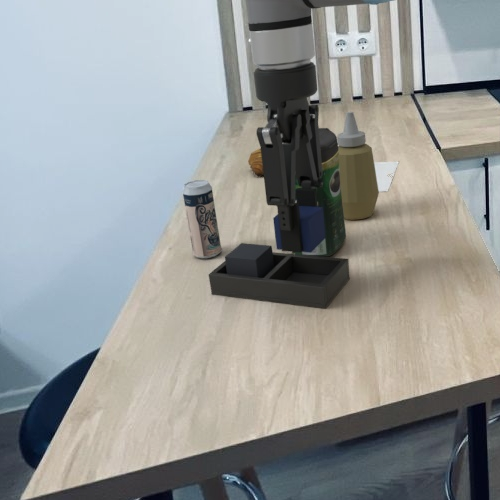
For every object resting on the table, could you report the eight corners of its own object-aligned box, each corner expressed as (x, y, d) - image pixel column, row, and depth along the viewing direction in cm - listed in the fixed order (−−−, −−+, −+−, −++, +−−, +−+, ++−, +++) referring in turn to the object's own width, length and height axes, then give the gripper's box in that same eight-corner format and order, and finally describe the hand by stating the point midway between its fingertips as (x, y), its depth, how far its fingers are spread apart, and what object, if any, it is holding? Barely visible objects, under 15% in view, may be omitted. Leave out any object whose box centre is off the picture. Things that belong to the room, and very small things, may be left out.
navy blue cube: (325, 238, 89) (323, 206, 87) (311, 252, 85) (308, 220, 83) (292, 235, 91) (288, 204, 89) (276, 249, 87) (272, 217, 85)
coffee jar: (305, 235, 109) (294, 124, 102) (351, 237, 106) (343, 123, 99) (283, 258, 101) (270, 140, 94) (333, 262, 98) (322, 139, 91)
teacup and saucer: (359, 168, 141) (358, 149, 139) (353, 179, 134) (352, 160, 132) (319, 169, 143) (318, 151, 142) (311, 180, 137) (309, 161, 135)
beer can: (212, 261, 104) (200, 189, 99) (187, 258, 106) (175, 188, 102) (227, 249, 108) (217, 179, 103) (203, 247, 110) (192, 178, 105)
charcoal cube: (275, 273, 95) (271, 245, 93) (259, 289, 91) (255, 259, 90) (245, 270, 98) (241, 242, 96) (228, 285, 94) (224, 256, 92)
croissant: (254, 162, 156) (252, 141, 155) (282, 160, 155) (280, 139, 153) (243, 179, 144) (240, 157, 142) (274, 177, 143) (271, 154, 141)
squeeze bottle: (342, 206, 120) (334, 107, 113) (385, 207, 116) (380, 106, 110) (327, 222, 114) (317, 118, 107) (372, 224, 110) (366, 117, 103)
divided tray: (242, 267, 100) (239, 249, 99) (350, 278, 92) (348, 258, 91) (211, 294, 93) (208, 274, 92) (325, 309, 85) (323, 287, 84)
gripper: (287, 54, 88) (302, 216, 97) (219, 79, 74) (245, 267, 83) (340, 50, 84) (351, 219, 93) (279, 76, 70) (299, 273, 79)
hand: (301, 241), depth 88 cm, fingers closed on navy blue cube, 5 cm apart
